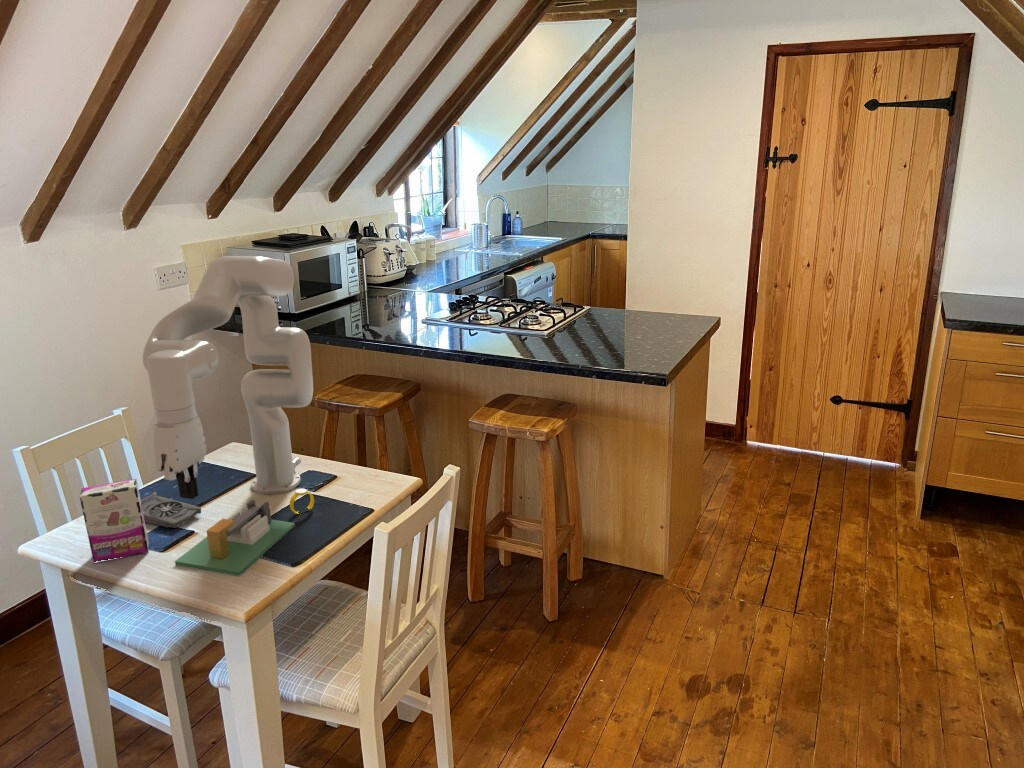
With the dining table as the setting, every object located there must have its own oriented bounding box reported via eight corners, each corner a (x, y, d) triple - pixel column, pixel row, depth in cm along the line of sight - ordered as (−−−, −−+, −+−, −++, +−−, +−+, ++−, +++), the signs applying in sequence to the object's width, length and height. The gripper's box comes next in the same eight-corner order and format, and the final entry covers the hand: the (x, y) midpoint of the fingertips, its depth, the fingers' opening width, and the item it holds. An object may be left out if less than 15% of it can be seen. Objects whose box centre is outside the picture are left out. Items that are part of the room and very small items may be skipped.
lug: (226, 544, 174) (222, 518, 172) (237, 546, 173) (234, 520, 171) (210, 557, 169) (206, 530, 167) (222, 559, 168) (218, 532, 166)
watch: (310, 507, 194) (309, 485, 192) (316, 511, 192) (315, 489, 190) (288, 514, 190) (287, 491, 188) (293, 518, 188) (293, 495, 186)
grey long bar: (255, 507, 184) (254, 503, 183) (264, 508, 183) (263, 504, 183) (217, 536, 170) (216, 532, 170) (226, 538, 170) (225, 534, 169)
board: (236, 518, 188) (233, 494, 186) (295, 526, 184) (292, 503, 182) (175, 565, 168) (171, 539, 166) (239, 576, 164) (236, 550, 162)
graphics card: (113, 512, 185) (154, 490, 195) (116, 526, 186) (156, 503, 197) (165, 527, 179) (204, 503, 189) (167, 541, 180) (206, 517, 190)
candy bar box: (149, 542, 177) (137, 477, 172) (149, 553, 173) (137, 486, 168) (94, 553, 173) (80, 486, 168) (92, 564, 169) (78, 496, 164)
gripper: (185, 398, 160) (197, 478, 166) (132, 425, 147) (148, 511, 153) (216, 401, 158) (227, 482, 164) (166, 429, 145) (180, 516, 151)
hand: (189, 496), depth 159 cm, fingers closed
